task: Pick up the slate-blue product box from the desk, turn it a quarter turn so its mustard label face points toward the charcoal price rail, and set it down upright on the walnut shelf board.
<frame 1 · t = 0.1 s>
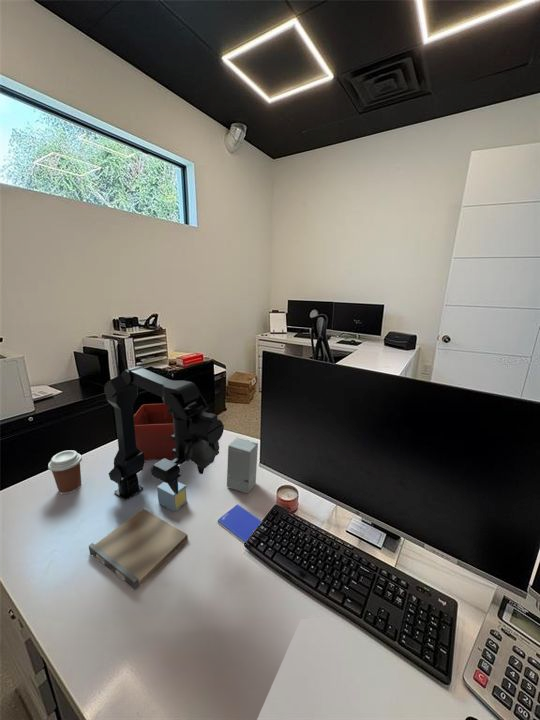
hand: (189, 483, 80), 15 cm above the table, tool pointing down, fingers open, 9 cm apart
coffee cup: (70, 488, 99), on the table
skincare box: (242, 485, 101), on the table
hard drive: (242, 527, 85), on the table
product box: (172, 502, 93), on the table
plant pot: (163, 451, 120), on the table
shelf board: (142, 544, 78), on the table
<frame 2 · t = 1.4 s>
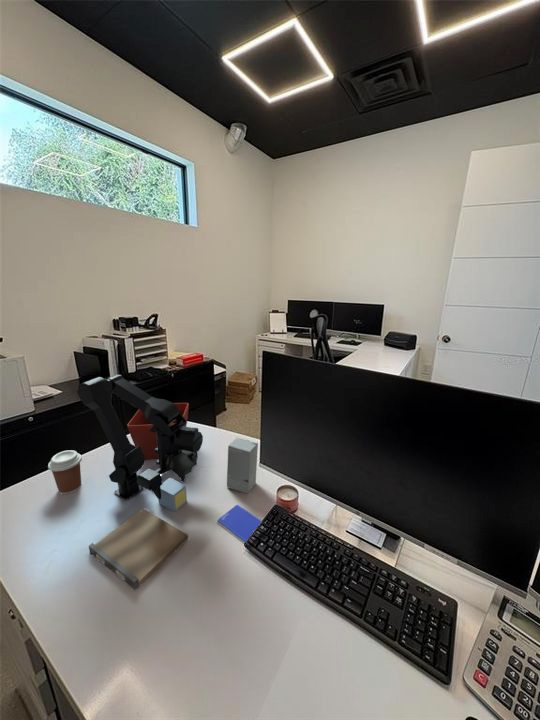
hand: (171, 489, 92), 5 cm above the table, tool pointing down, fingers open, 9 cm apart
nothing on the table moved.
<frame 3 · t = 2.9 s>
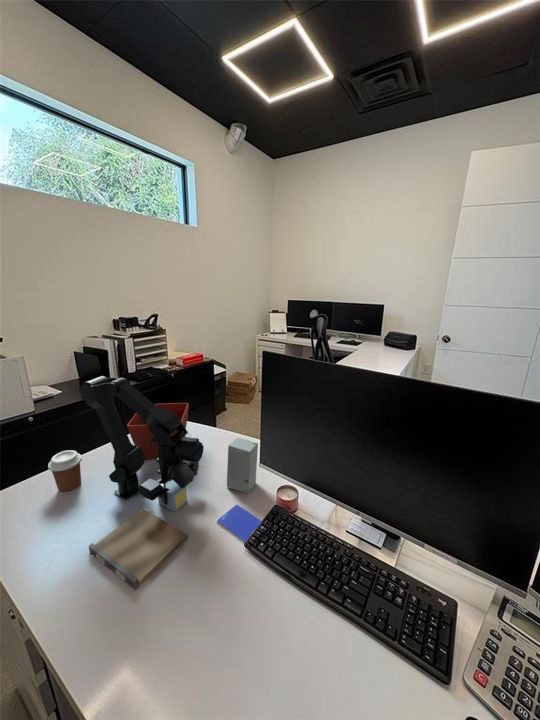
hand: (172, 498, 93), 1 cm above the table, tool pointing down, fingers closed on product box, 5 cm apart
product box: (172, 502, 93), on the table, touching gripper
everything else where it was.
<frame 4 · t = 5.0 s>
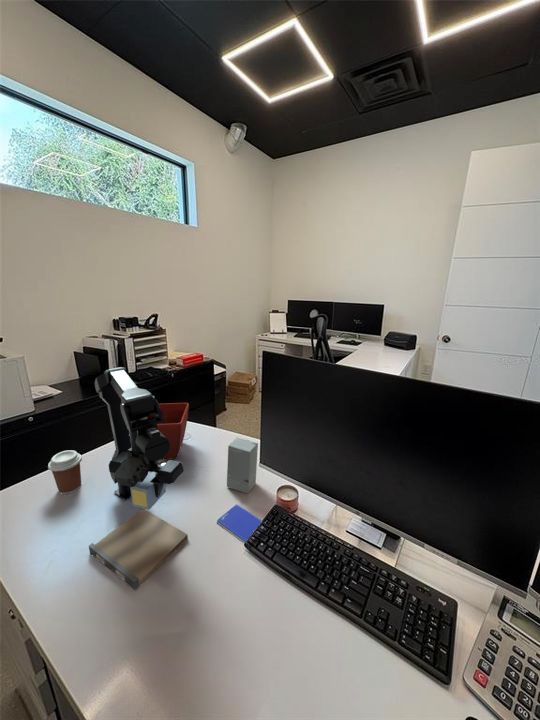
hand: (149, 494, 79), 12 cm above the table, tool pointing down, fingers closed on product box, 5 cm apart
product box: (149, 498, 79), point 11 cm above the table, touching gripper
everything else where it was.
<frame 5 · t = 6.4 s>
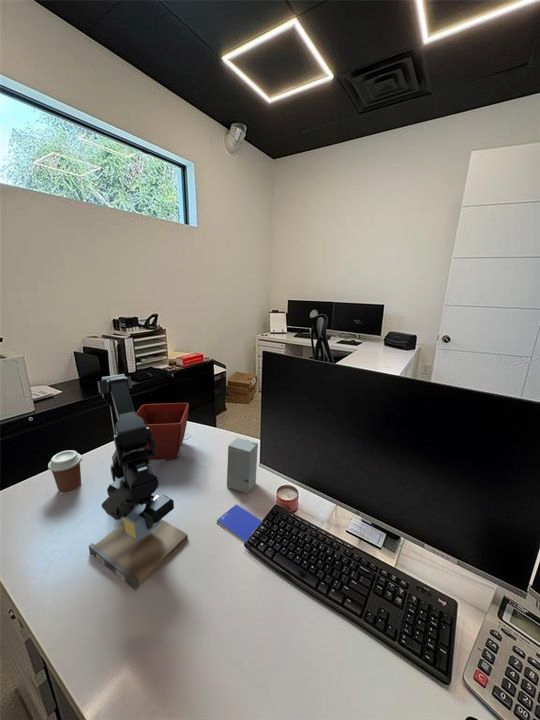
hand: (143, 524, 77), 6 cm above the table, tool pointing down, fingers closed on product box, 5 cm apart
product box: (143, 528, 78), point 5 cm above the table, touching gripper
everything else where it was.
when the fingers open (4 cm above the table, at t = 7.6 s): product box drops 1 cm, resting on shelf board.
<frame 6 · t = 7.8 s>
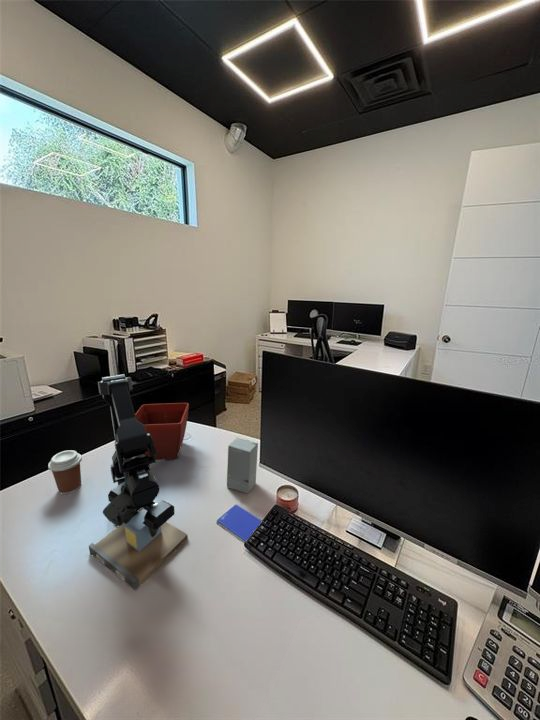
hand: (143, 529, 78), 4 cm above the table, tool pointing down, fingers open, 7 cm apart
product box: (144, 537, 79), point 1 cm above the table, touching shelf board
everything else where it was.
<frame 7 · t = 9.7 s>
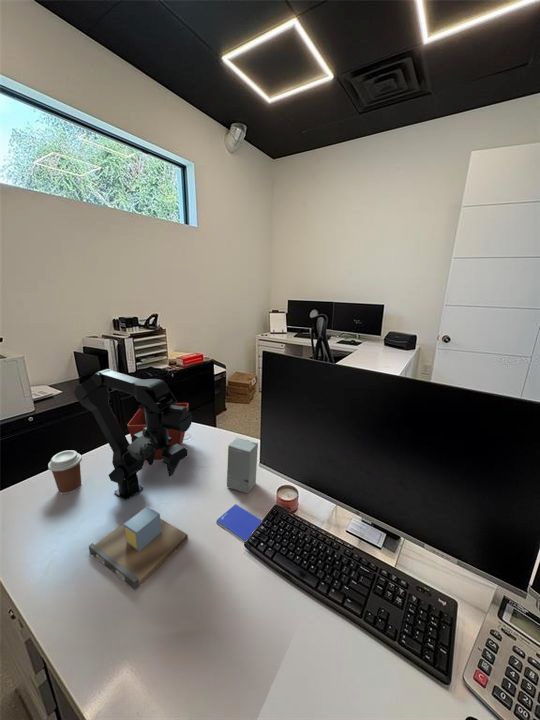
hand: (160, 470, 89), 12 cm above the table, tool pointing down, fingers open, 9 cm apart
nothing on the table moved.
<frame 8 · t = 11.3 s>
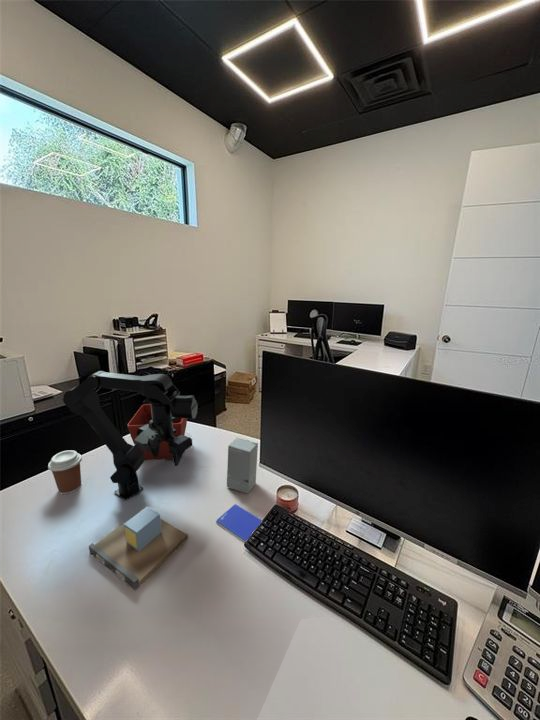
hand: (166, 461, 93), 12 cm above the table, tool pointing down, fingers open, 9 cm apart
nothing on the table moved.
at the end: product box inside the target area on the shelf board (0.0 cm from its centre), point 1.5 cm above the shelf board's base; product box tilted 0°; the gripper is holding nothing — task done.
